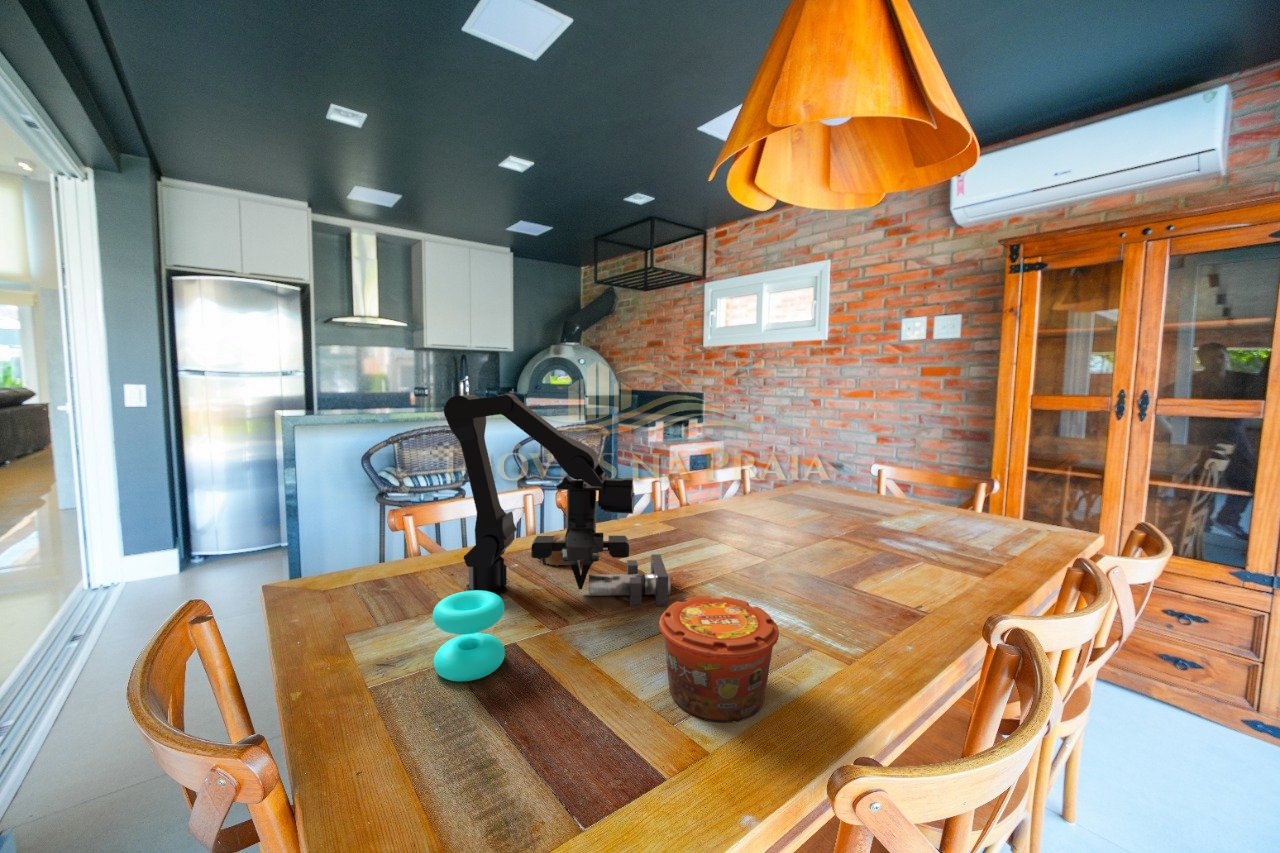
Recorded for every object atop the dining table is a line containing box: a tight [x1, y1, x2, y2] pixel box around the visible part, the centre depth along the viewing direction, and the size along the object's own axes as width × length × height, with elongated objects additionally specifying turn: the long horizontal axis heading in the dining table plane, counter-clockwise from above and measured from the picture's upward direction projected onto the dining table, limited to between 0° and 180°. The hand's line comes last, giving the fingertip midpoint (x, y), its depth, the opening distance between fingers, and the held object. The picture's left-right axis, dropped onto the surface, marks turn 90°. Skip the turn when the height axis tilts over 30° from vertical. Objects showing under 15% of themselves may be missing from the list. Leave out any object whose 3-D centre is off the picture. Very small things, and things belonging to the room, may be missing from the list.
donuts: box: [432, 590, 506, 682], centre depth 76 cm, size 10×10×10 cm
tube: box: [588, 573, 672, 597], centre depth 102 cm, size 16×4×4 cm, turn 95°
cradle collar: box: [626, 559, 642, 608], centre depth 103 cm, size 2×12×4 cm, turn 5°
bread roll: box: [537, 533, 582, 567], centre depth 122 cm, size 10×10×8 cm
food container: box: [658, 595, 780, 723], centre depth 70 cm, size 16×16×11 cm
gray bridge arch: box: [650, 553, 669, 607], centre depth 104 cm, size 2×12×6 cm, turn 5°
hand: (580, 588), depth 102 cm, fingers closed
